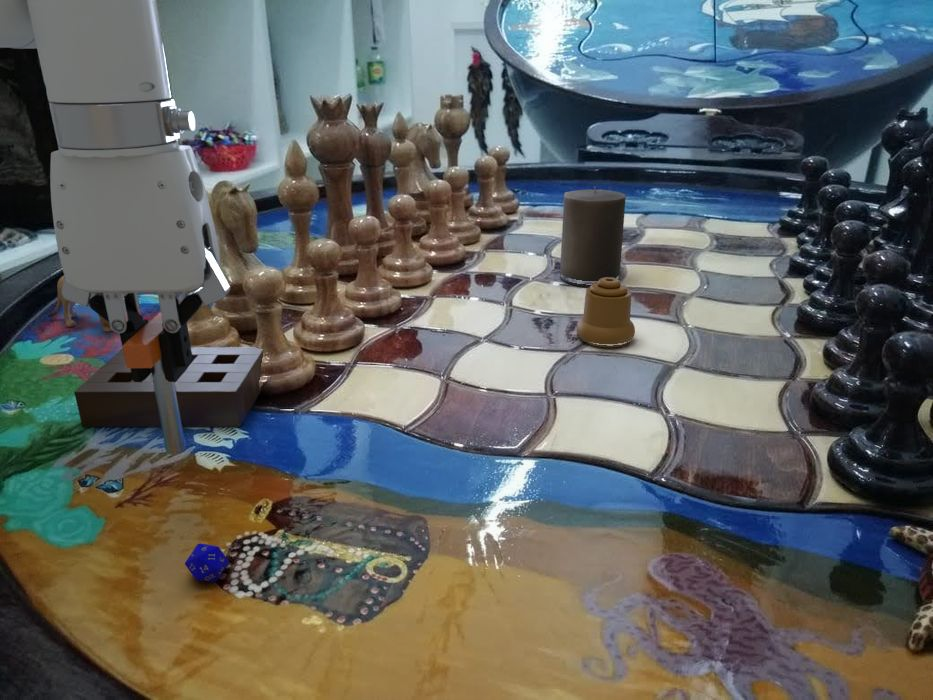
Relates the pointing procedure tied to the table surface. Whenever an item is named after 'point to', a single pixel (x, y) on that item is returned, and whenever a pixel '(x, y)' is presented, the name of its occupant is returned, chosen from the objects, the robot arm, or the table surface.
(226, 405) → the tool rack
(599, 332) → the ornamental finial
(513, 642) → the table surface
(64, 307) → the lion figurine
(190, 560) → the die
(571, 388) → the table surface
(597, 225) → the pillar candle
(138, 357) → the t handle
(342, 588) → the table surface
